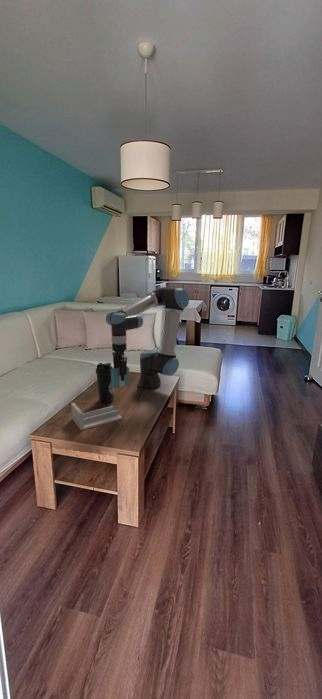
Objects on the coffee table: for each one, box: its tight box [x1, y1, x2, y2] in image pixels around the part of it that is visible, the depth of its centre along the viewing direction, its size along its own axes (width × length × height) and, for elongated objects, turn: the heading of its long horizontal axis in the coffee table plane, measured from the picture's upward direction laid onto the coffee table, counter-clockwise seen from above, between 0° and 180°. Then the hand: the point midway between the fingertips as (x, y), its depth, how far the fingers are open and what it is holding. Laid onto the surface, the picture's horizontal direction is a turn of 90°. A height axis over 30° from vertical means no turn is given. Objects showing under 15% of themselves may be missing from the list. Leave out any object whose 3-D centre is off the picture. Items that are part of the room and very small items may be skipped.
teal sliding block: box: [111, 366, 130, 390], centre depth 176 cm, size 9×4×10 cm, turn 122°
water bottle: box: [95, 362, 114, 405], centre depth 191 cm, size 10×10×23 cm
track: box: [70, 402, 123, 431], centre depth 171 cm, size 22×14×9 cm, turn 122°
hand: (120, 384), depth 177 cm, fingers closed on teal sliding block, 3 cm apart
